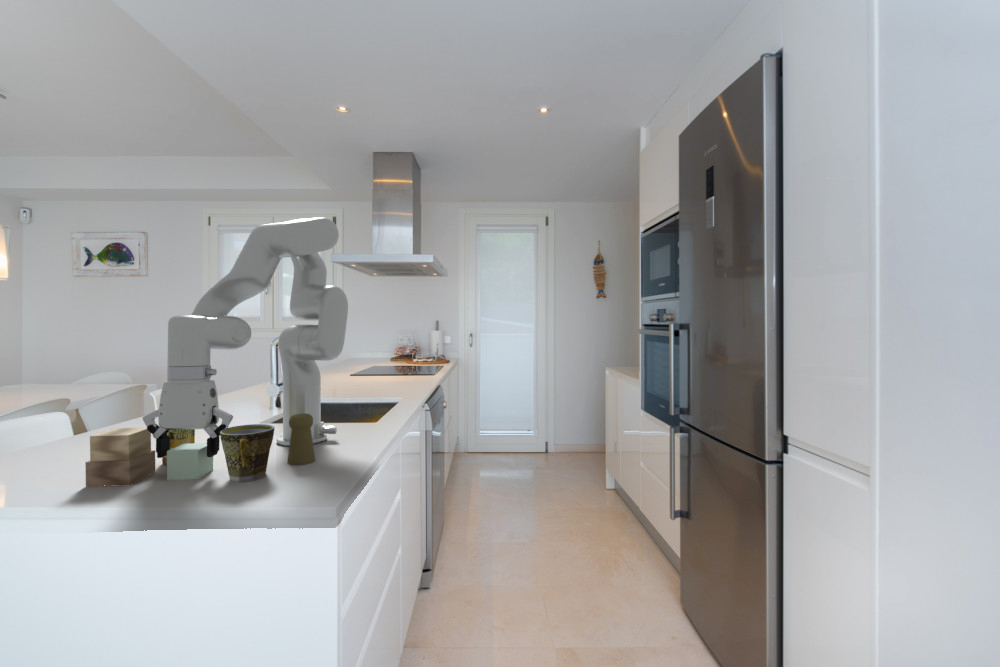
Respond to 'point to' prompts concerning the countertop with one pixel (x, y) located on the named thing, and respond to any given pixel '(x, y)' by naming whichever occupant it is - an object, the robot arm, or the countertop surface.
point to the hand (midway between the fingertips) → (187, 455)
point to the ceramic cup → (247, 450)
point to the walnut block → (120, 470)
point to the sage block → (188, 461)
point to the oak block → (120, 444)
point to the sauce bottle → (179, 439)
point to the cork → (301, 440)
